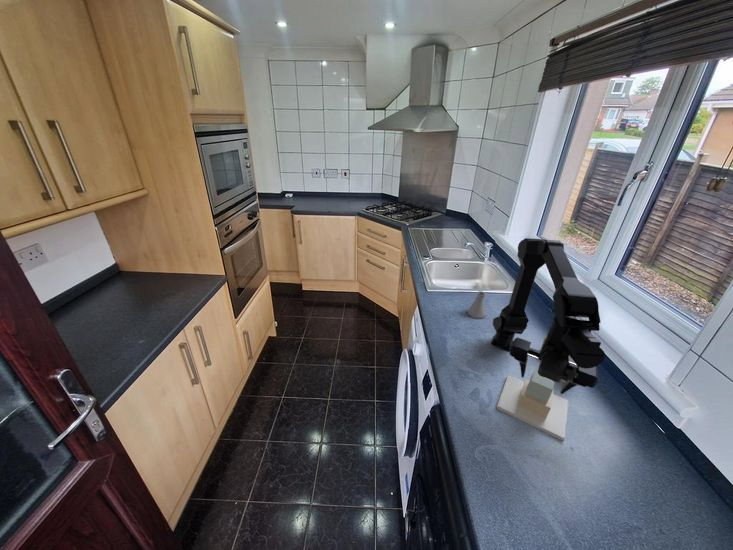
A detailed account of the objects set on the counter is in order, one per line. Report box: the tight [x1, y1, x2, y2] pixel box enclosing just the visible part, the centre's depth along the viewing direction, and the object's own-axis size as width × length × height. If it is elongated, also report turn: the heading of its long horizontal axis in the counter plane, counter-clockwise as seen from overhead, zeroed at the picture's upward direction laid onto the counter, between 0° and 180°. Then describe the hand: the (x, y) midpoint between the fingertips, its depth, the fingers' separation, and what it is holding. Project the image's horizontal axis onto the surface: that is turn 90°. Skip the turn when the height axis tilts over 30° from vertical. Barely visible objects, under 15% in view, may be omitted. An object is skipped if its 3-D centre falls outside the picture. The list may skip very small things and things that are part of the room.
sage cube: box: [526, 369, 555, 404], centre depth 79 cm, size 5×5×5 cm
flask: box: [466, 290, 487, 319], centre depth 120 cm, size 7×7×10 cm
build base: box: [496, 374, 569, 442], centre depth 82 cm, size 14×16×5 cm
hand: (541, 384), depth 79 cm, fingers open, 9 cm apart
